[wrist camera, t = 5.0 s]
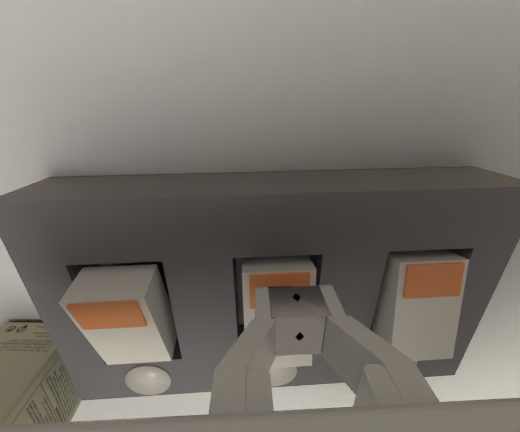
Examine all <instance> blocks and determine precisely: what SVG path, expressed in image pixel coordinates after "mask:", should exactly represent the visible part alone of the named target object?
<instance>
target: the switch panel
mask: <svg viewBox="0 0 520 432" xmlns="http://www.w3.org/2000/svg"><path fill="white" fill-rule="evenodd" d="M0 237H1V239H2V241H3V243H4V245H5V247H6V249H7V251H8V253H9V255H10V257H11V259H12V261H13V263H14V265H15V267H16V269H17V271H18V273H19V275H20V277H21V279H22V281H23V283H24V285H25V287H26V289H27V291H28V293H29V295H30V297H31V299H32V301H33V303H34V305H35V307H36V309H37V311H38V313H39V315H40V317H41V319H42V321H43V323H44V326H45V328H46V330H47V332H48V334H49V336H50V338H51V340H52V342H53V344H54V346H55V348H56V350H57V352H58V354H59V356H60V358H61V360H62V362H63V364H64V366H65V368H66V370H67V372H68V374H69V376H70V378H71V380H72V382H73V384H74V386H75V388H76V390H77V392H78V394H79V396H80V398H81V400H95V399H110V398H124V397H139V396H153V395H168V394H183V393H197V392H212V384H213V377H214V370H215V368H216V367H217V366H218V364H219V363H220V362H221V360H222V359H223V358H224V356H225V355H226V354H227V352H228V351H229V350H230V348H231V347H232V346H233V344H234V343H235V342H236V340H237V339H238V338H239V336H240V335H241V334H242V332H243V331H244V310H243V287H242V258H254V257H277V256H301V255H309V257H310V259H311V261H312V262H313V264H314V266H315V268H316V269H317V270H316V285H325V284H331V285H332V286H333V288H334V290H335V292H336V295H337V297H338V299H339V301H340V303H341V305H342V307H343V309H344V311H345V313H346V316H352V317H353V318H354V319H356V320H357V321H359V322H360V323H361V324H363V325H364V326H365V327H367V328H368V329H370V330H371V331H372V326H373V317H374V313H375V308H376V304H377V300H378V296H379V292H380V287H381V283H382V279H383V275H384V270H385V266H386V262H387V258H388V254H389V252H396V251H420V250H444V249H446V250H448V251H450V252H453V253H455V254H457V255H460V256H462V257H464V258H467V259H469V263H468V269H467V275H466V281H465V287H464V293H463V299H462V305H461V311H460V317H459V324H458V330H457V336H456V342H455V348H454V354H453V359H438V360H423V361H414V363H415V364H416V366H417V367H418V369H419V370H420V372H421V374H422V375H423V377H431V376H446V375H455V373H456V370H457V368H458V366H459V364H460V362H461V360H462V358H463V356H464V354H465V352H466V349H467V347H468V345H469V343H470V341H471V339H472V337H473V335H474V333H475V330H476V328H477V326H478V324H479V322H480V320H481V318H482V316H483V314H484V312H485V309H486V307H487V305H488V303H489V301H490V299H491V297H492V295H493V293H494V291H495V288H496V286H497V284H498V282H499V280H500V278H501V276H502V274H503V272H504V270H505V267H506V265H507V263H508V261H509V259H510V257H511V255H512V253H513V251H514V249H515V246H516V244H517V242H518V240H519V238H520V179H517V178H513V177H510V176H506V175H502V174H499V173H495V172H491V171H488V170H484V169H480V168H477V167H437V168H397V169H357V170H317V171H277V172H237V173H197V174H157V175H117V176H77V177H49V178H47V179H44V180H41V181H39V182H36V183H33V184H31V185H28V186H26V187H23V188H20V189H18V190H15V191H12V192H10V193H7V194H4V195H2V196H0ZM152 264H157V267H158V269H159V272H160V275H161V278H162V281H163V284H164V287H165V289H166V292H167V295H168V298H169V301H170V304H171V307H172V312H173V317H174V322H175V327H176V332H177V338H176V343H175V348H174V353H173V357H172V361H163V362H147V363H130V364H114V365H107V364H106V363H105V361H104V360H103V359H102V358H101V356H100V355H99V354H98V352H97V351H96V350H95V349H94V347H93V346H92V345H91V344H90V342H89V341H88V340H87V339H86V337H85V336H84V335H83V333H82V332H81V331H80V330H79V328H78V327H77V326H76V325H75V323H74V322H73V321H72V320H71V318H70V317H69V316H68V314H67V313H66V312H65V311H64V309H63V308H62V307H61V306H60V304H59V302H60V300H61V299H62V297H63V296H64V294H65V293H66V291H67V290H68V288H69V287H70V285H71V284H72V282H73V281H74V279H75V278H76V276H77V275H78V274H79V272H80V271H81V269H82V268H83V267H105V266H128V265H152ZM321 355H322V354H312V366H299V367H284V368H270V370H269V373H270V379H271V387H285V386H300V385H314V384H329V383H343V382H344V381H343V380H342V378H341V377H340V376H339V375H338V374H337V373H336V372H335V370H334V369H333V368H332V367H331V366H330V365H329V364H328V362H327V361H326V360H325V359H324V358H323V357H322V356H321Z"/></svg>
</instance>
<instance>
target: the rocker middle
mask: <svg viewBox="0 0 520 432" xmlns="http://www.w3.org/2000/svg"><path fill="white" fill-rule="evenodd" d="M316 270H317V269H316V268H315V266H314V264H313V262H312V261H311V259H310V257H309V255H301V256H277V257H254V258H242V287H243V310H244V330H245V328H246V327H247V326H248V324H249V323H250V322H251V320H252V319H255V287H268V286H310V285H316ZM299 366H312V354H304V355H285V356H275V359H274V361H273V363H272V366H271V368H284V367H299Z"/></svg>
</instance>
